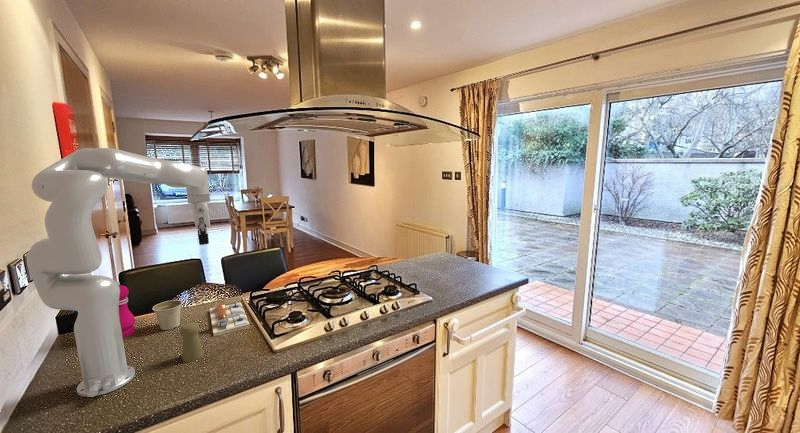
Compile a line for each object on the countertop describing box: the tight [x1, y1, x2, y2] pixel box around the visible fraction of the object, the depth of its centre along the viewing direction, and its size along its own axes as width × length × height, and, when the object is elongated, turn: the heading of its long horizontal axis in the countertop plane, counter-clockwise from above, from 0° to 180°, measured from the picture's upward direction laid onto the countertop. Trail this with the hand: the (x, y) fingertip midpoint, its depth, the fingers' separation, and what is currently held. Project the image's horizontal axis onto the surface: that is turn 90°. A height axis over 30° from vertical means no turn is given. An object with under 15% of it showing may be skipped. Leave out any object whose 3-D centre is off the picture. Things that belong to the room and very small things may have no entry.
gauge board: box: [209, 301, 251, 337], centre depth 135 cm, size 24×12×4 cm, turn 32°
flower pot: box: [151, 299, 183, 331], centre depth 129 cm, size 9×9×9 cm
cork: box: [179, 322, 205, 363], centre depth 109 cm, size 6×6×11 cm
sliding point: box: [216, 302, 241, 326], centre depth 128 cm, size 3×8×7 cm, turn 122°
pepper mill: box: [116, 281, 136, 339], centre depth 122 cm, size 7×7×20 cm
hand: (203, 241), depth 135 cm, fingers open, 9 cm apart
